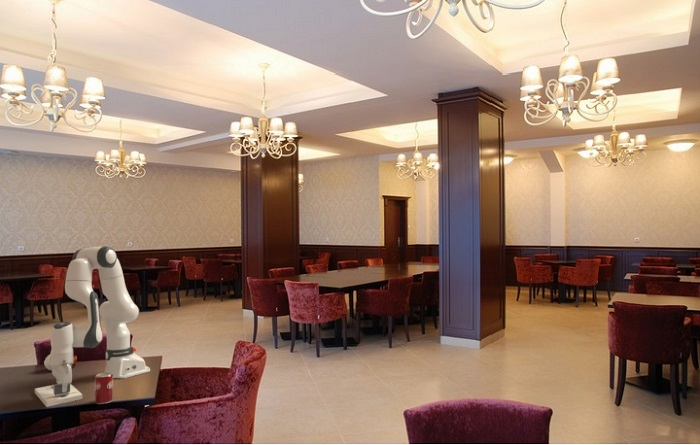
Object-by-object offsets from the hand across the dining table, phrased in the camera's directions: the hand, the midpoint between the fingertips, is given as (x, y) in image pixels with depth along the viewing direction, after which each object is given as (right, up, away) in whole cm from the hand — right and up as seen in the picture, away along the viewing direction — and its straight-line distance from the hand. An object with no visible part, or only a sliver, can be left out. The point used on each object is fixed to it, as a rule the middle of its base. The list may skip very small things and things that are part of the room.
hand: (61, 389), depth 214 cm
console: (-5, -5, +5) cm, 8 cm away
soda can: (+20, -5, -3) cm, 21 cm away
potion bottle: (-30, -6, +48) cm, 57 cm away
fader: (0, -2, 0) cm, 2 cm away
